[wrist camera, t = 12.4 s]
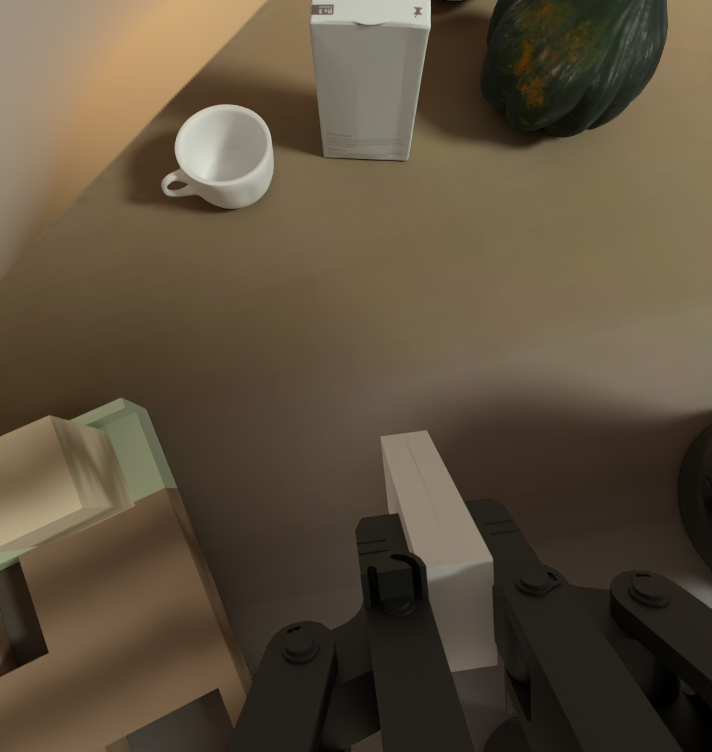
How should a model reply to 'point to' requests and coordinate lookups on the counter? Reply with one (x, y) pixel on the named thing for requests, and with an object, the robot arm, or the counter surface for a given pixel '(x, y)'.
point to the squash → (570, 60)
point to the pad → (124, 453)
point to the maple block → (57, 482)
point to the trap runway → (119, 634)
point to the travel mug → (508, 738)
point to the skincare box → (368, 74)
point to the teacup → (223, 157)
